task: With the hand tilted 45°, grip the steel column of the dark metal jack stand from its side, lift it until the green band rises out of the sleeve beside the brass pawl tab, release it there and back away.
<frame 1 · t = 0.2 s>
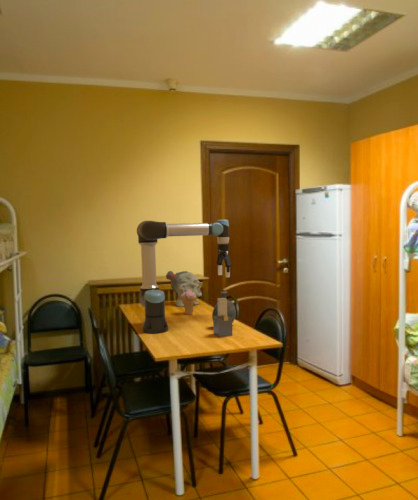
hand: (223, 276, 291), 28 cm above the table, tool pointing down, fingers open, 13 cm apart
sculpture: (184, 305, 346), on the table
stand base: (222, 336, 246), on the table
column: (222, 316, 245), point 11 cm above the table, slide at 0.0 cm
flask: (224, 328, 266), on the table
ice cream cone: (189, 314, 309), on the table
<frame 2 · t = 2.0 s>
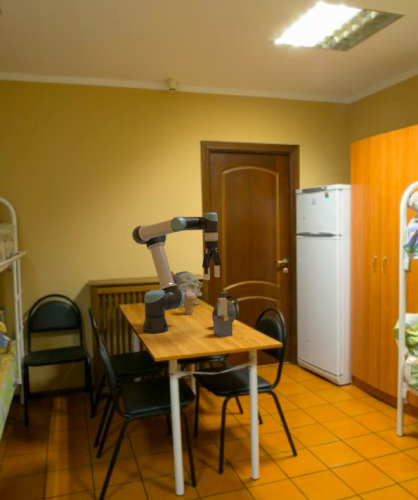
hand: (212, 278, 250), 32 cm above the table, tool pointing down, fingers open, 13 cm apart
nothing on the table moved.
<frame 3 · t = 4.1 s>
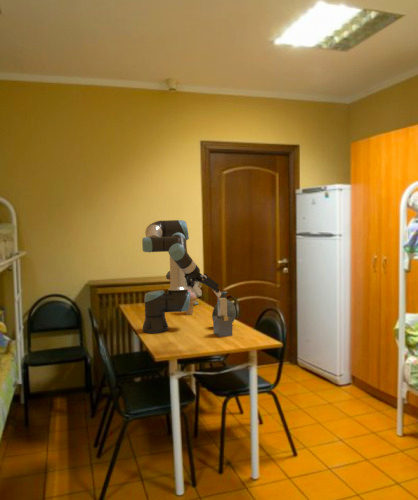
hand: (210, 294, 237), 25 cm above the table, tool tilted 45°, fingers open, 13 cm apart
nothing on the table moved.
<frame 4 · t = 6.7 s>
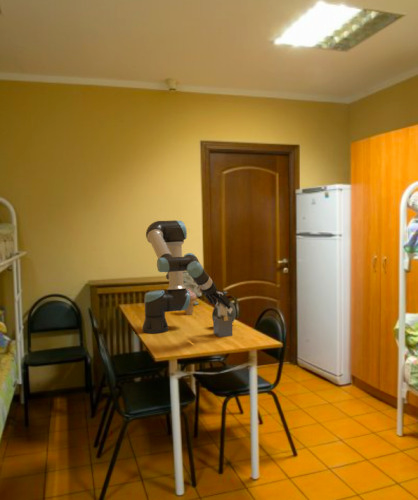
hand: (226, 310, 248), 14 cm above the table, tool tilted 45°, fingers closed on column, 5 cm apart
column: (222, 316, 245), point 11 cm above the table, slide at 0.0 cm, touching gripper
everything else where it was.
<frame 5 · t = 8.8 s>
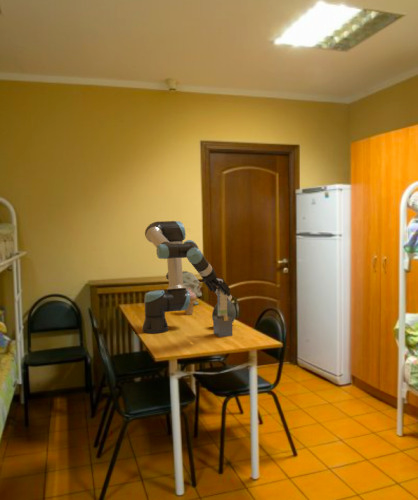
hand: (226, 298, 248), 21 cm above the table, tool tilted 45°, fingers closed on column, 5 cm apart
column: (222, 304, 245), point 18 cm above the table, slide at 7.0 cm, touching gripper
everything else where it was.
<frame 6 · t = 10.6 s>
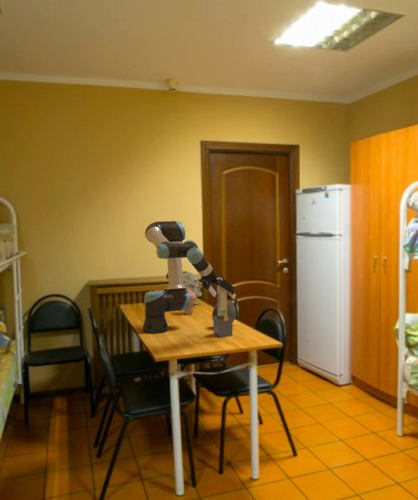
hand: (224, 296, 246), 22 cm above the table, tool tilted 45°, fingers open, 13 cm apart
column: (222, 304, 245), point 18 cm above the table, slide at 7.0 cm
everything else where it was.
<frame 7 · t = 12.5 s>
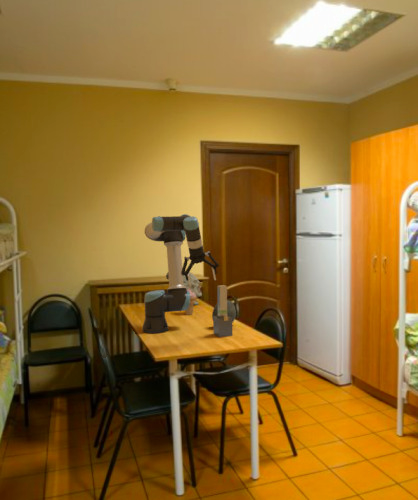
hand: (202, 282, 239), 31 cm above the table, tool tilted 20°, fingers open, 13 cm apart
nothing on the table moved.
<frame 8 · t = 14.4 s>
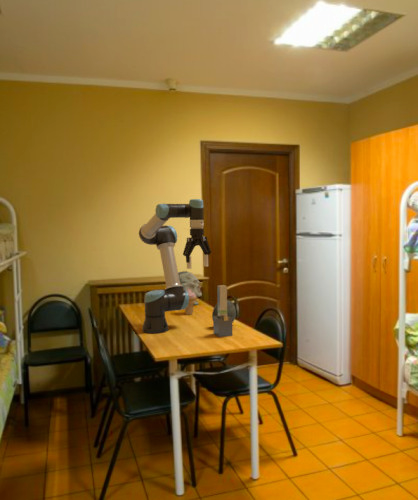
hand: (197, 267, 241), 39 cm above the table, tool pointing down, fingers open, 13 cm apart
nothing on the table moved.
at the end: column slide at 7.0 cm; the gripper is holding nothing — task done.
